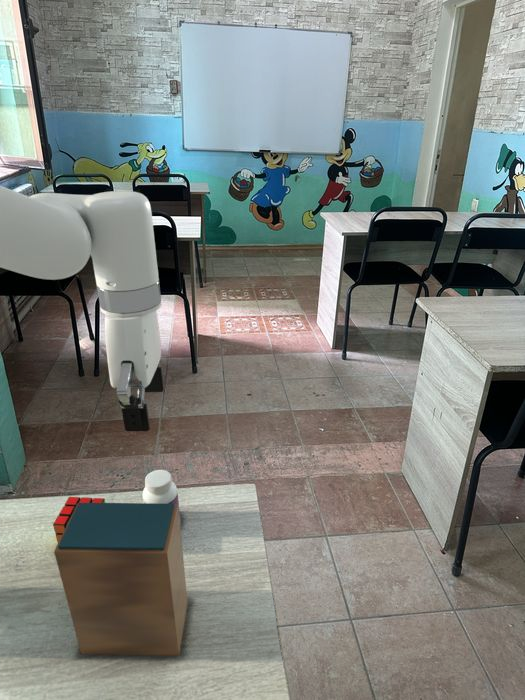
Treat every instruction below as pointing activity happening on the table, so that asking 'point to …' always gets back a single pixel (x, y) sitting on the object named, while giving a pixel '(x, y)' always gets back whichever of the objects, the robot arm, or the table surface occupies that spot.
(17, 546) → the table surface
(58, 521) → the puzzle toy
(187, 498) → the table surface
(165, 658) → the table surface
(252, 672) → the table surface
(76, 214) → the robot arm
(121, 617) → the stand
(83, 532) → the cloth
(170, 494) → the pill bottle
